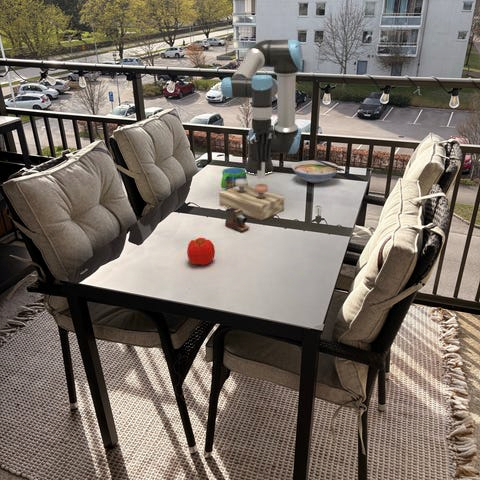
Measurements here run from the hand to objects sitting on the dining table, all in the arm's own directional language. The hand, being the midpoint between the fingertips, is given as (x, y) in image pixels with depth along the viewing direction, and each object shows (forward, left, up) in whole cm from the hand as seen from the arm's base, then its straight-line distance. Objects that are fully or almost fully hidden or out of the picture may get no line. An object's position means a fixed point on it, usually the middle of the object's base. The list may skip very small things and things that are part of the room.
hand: (260, 177), depth 186 cm
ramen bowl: (-48, -8, -15) cm, 51 cm away
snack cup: (-10, -26, -15) cm, 31 cm away
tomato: (+47, +15, -15) cm, 51 cm away
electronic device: (+19, +5, -15) cm, 24 cm away
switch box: (0, -6, -15) cm, 16 cm away
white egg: (0, -11, -10) cm, 15 cm away
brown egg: (0, 0, -10) cm, 10 cm away
